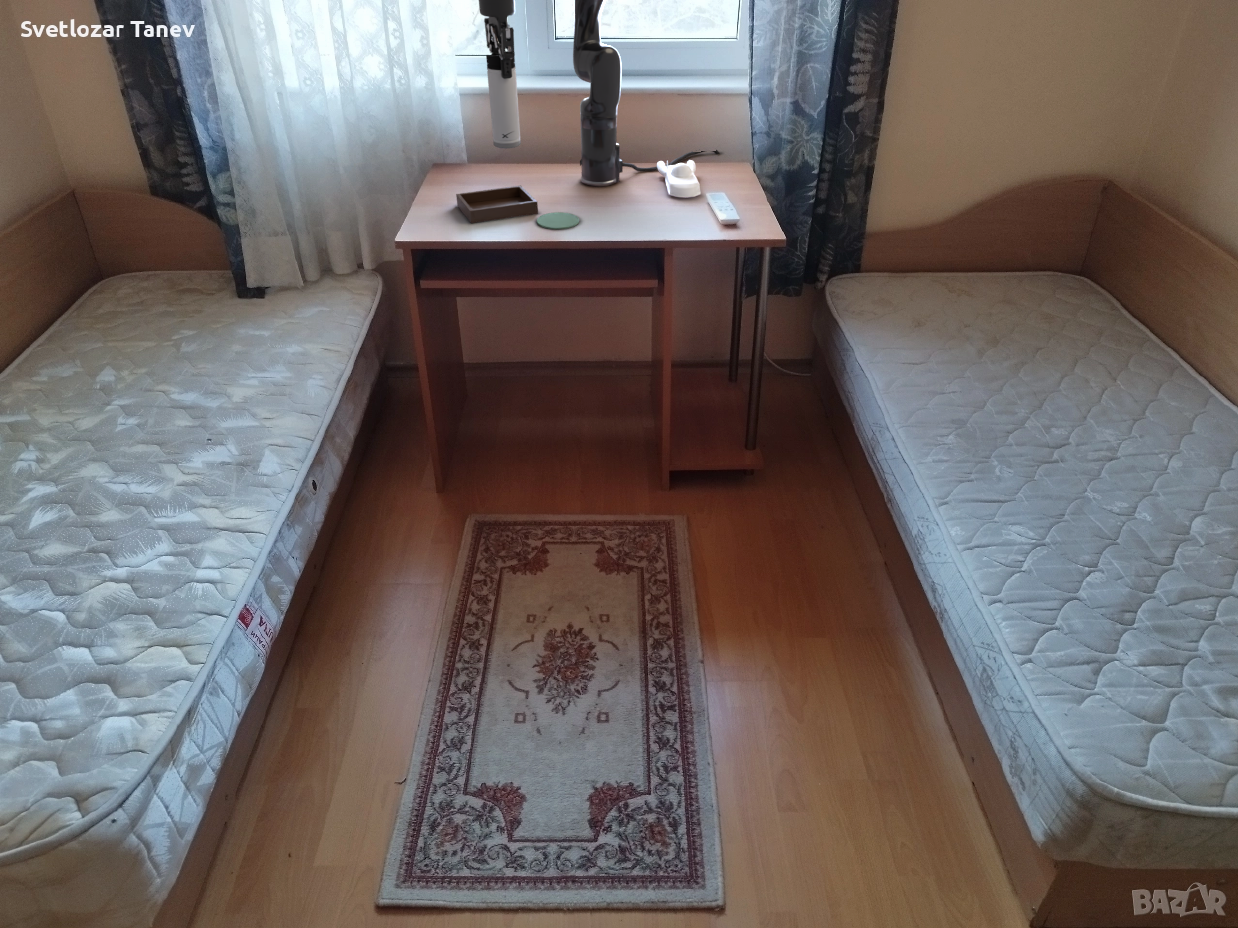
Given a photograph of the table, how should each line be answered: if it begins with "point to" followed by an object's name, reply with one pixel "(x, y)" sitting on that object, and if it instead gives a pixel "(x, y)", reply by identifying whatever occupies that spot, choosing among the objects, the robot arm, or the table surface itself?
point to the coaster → (558, 220)
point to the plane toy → (680, 179)
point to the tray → (496, 204)
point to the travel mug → (503, 104)
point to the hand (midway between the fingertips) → (502, 74)
